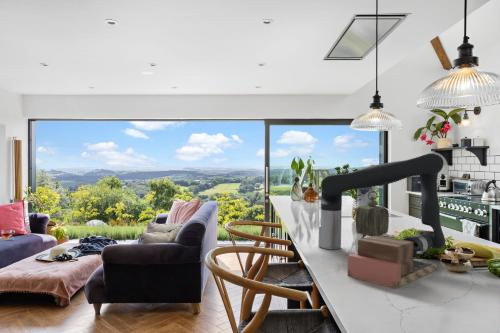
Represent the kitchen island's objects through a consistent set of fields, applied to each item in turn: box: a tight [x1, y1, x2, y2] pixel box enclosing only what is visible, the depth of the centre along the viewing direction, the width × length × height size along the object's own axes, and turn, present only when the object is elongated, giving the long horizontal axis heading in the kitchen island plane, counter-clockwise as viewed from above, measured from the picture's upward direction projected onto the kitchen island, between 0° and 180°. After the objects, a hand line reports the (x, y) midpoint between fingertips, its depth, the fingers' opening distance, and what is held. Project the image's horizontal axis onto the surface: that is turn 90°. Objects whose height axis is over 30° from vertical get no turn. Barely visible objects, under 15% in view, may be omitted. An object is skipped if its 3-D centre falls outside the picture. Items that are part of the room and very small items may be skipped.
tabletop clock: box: [355, 191, 390, 239], centre depth 183 cm, size 14×9×25 cm, turn 123°
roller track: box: [347, 253, 437, 289], centre depth 133 cm, size 32×17×7 cm, turn 133°
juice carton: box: [356, 186, 377, 209], centre depth 210 cm, size 9×10×27 cm
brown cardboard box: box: [357, 235, 414, 276], centre depth 128 cm, size 12×14×10 cm
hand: (393, 253), depth 133 cm, fingers closed
